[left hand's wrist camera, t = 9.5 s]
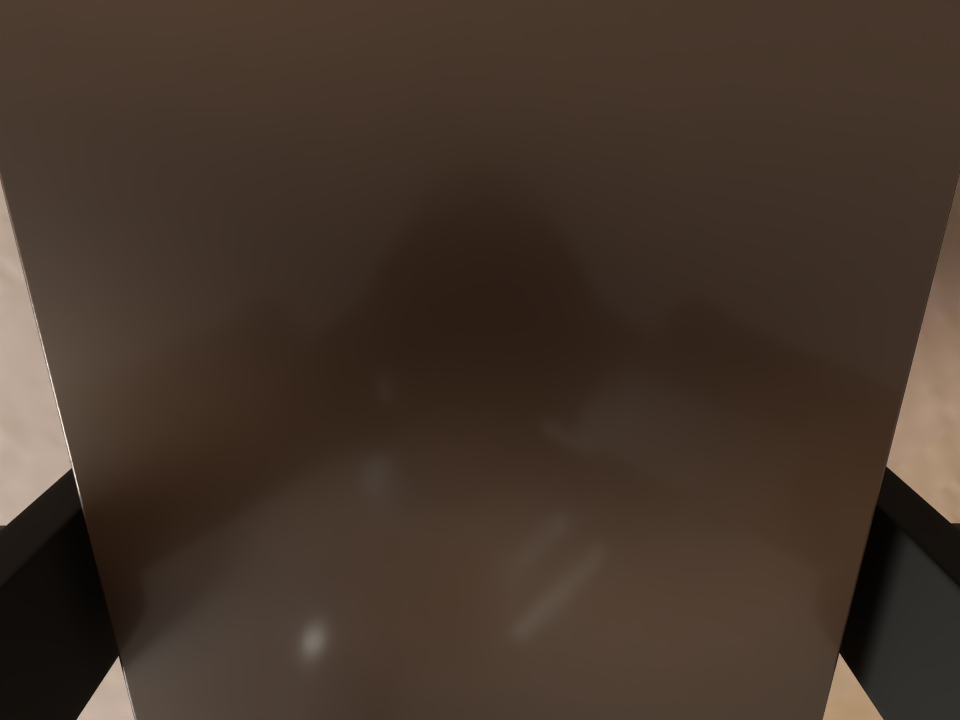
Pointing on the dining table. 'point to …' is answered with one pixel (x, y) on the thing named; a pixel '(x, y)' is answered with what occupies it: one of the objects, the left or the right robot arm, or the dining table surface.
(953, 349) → the dining table surface
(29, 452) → the dining table surface
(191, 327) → the cabinet
